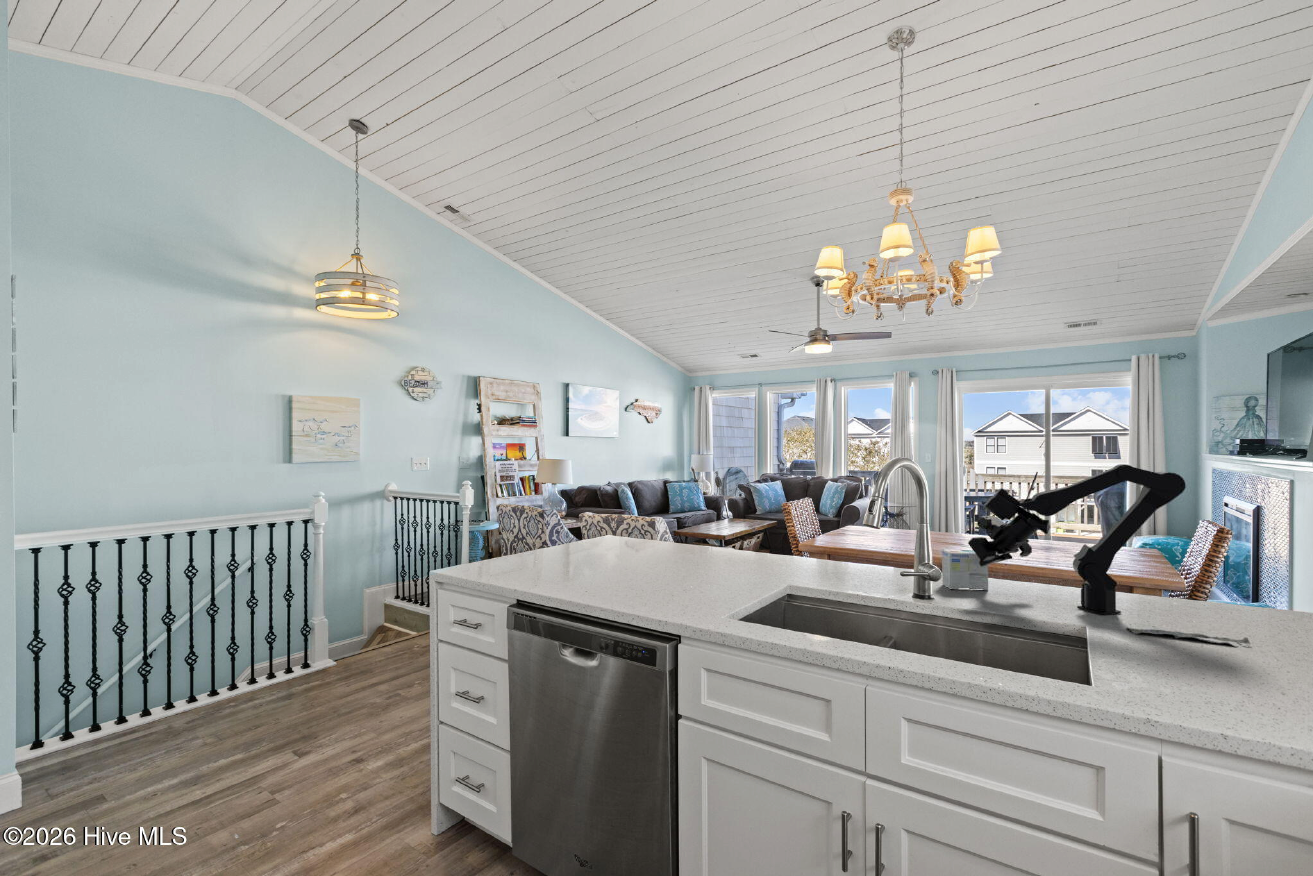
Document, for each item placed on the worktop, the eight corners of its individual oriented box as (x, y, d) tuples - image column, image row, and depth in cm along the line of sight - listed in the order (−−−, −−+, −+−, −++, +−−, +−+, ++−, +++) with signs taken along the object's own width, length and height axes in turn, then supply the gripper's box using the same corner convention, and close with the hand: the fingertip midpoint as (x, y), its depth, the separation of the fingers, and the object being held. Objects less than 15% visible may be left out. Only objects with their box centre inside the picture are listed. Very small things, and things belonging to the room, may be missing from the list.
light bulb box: (979, 586, 175) (978, 549, 175) (989, 591, 168) (989, 553, 168) (941, 585, 176) (940, 548, 176) (949, 590, 169) (949, 552, 169)
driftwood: (1128, 636, 130) (1128, 626, 130) (1123, 628, 136) (1123, 619, 136) (1258, 654, 120) (1258, 644, 120) (1246, 645, 125) (1246, 635, 125)
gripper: (1021, 505, 166) (985, 539, 176) (974, 508, 159) (939, 543, 169) (1049, 538, 159) (1010, 571, 169) (1002, 542, 151) (964, 576, 161)
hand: (980, 564), depth 167 cm, fingers closed
